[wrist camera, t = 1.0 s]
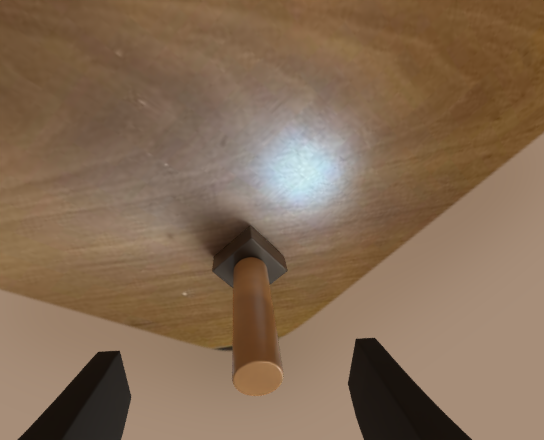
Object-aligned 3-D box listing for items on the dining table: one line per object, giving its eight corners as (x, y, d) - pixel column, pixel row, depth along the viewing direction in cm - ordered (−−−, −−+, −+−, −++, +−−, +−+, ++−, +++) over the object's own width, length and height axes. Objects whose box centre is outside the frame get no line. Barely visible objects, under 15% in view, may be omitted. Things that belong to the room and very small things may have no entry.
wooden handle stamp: (248, 286, 22) (255, 417, 14) (213, 256, 20) (198, 382, 12) (284, 256, 21) (315, 377, 13) (250, 225, 20) (261, 335, 12)
